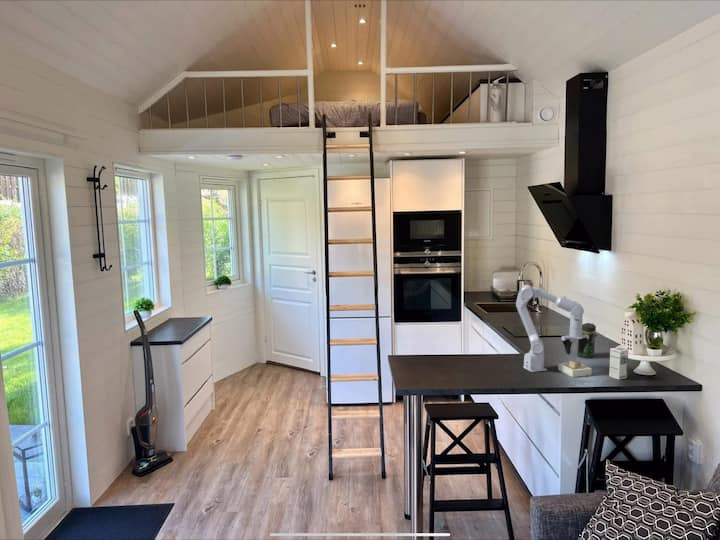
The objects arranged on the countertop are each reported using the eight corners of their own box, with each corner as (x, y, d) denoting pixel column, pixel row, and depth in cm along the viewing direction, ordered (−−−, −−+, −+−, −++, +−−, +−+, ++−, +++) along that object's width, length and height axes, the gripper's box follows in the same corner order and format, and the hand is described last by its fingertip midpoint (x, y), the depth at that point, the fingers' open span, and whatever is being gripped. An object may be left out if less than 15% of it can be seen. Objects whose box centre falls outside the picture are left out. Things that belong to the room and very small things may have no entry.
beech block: (574, 373, 251) (574, 363, 250) (568, 370, 255) (569, 361, 254) (580, 372, 252) (581, 362, 251) (575, 370, 256) (576, 360, 255)
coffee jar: (589, 359, 275) (591, 326, 273) (575, 356, 281) (576, 324, 279) (596, 355, 282) (598, 323, 280) (582, 352, 288) (583, 321, 285)
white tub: (572, 377, 247) (572, 370, 246) (558, 370, 257) (558, 363, 257) (591, 375, 250) (591, 368, 249) (576, 368, 260) (576, 361, 260)
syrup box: (618, 379, 243) (620, 350, 241) (608, 376, 248) (610, 347, 246) (627, 378, 245) (629, 349, 243) (616, 374, 250) (618, 346, 249)
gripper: (568, 329, 246) (567, 356, 248) (593, 328, 249) (592, 354, 251) (559, 326, 253) (558, 352, 254) (584, 324, 256) (582, 350, 258)
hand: (574, 353), depth 253 cm, fingers open, 7 cm apart
